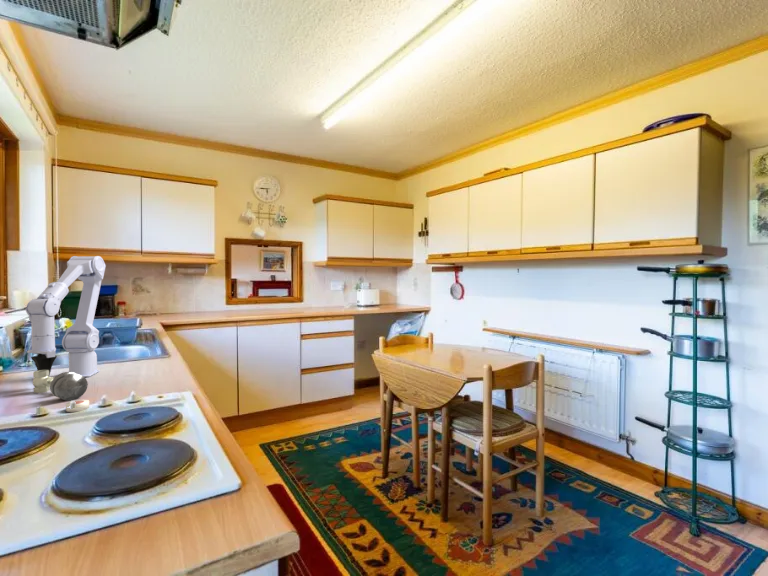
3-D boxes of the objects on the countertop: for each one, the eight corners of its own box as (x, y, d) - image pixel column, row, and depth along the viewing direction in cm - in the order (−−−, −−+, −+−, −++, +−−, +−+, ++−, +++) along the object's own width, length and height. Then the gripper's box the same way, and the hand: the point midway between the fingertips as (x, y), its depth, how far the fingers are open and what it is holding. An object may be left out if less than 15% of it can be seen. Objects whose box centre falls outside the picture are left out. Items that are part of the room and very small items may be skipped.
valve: (25, 394, 123) (57, 396, 121) (24, 373, 123) (56, 374, 121) (47, 388, 130) (77, 390, 127) (46, 368, 130) (77, 369, 127)
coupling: (50, 400, 116) (49, 374, 116) (81, 394, 123) (80, 369, 122) (56, 403, 113) (55, 376, 113) (87, 397, 120) (87, 371, 120)
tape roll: (71, 407, 111) (71, 400, 110) (92, 405, 112) (92, 398, 112) (62, 412, 106) (62, 405, 106) (84, 411, 107) (84, 404, 107)
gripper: (20, 335, 131) (21, 376, 131) (34, 338, 122) (35, 383, 123) (47, 332, 137) (48, 372, 137) (63, 336, 128) (64, 378, 129)
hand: (44, 377), depth 130 cm, fingers closed
